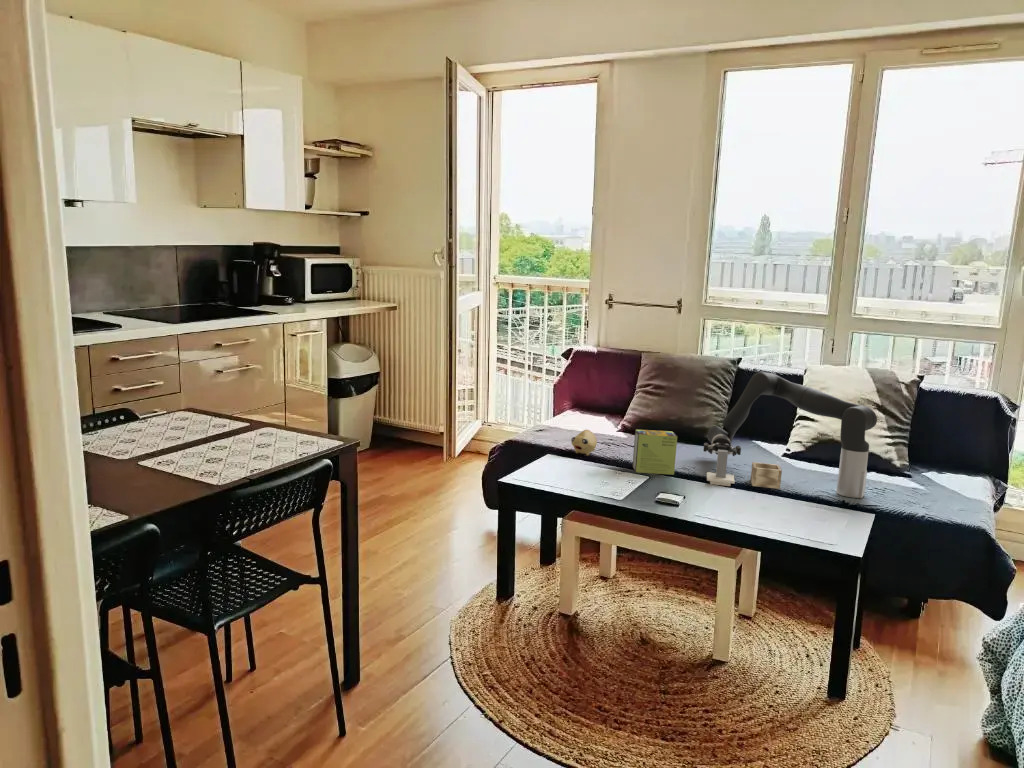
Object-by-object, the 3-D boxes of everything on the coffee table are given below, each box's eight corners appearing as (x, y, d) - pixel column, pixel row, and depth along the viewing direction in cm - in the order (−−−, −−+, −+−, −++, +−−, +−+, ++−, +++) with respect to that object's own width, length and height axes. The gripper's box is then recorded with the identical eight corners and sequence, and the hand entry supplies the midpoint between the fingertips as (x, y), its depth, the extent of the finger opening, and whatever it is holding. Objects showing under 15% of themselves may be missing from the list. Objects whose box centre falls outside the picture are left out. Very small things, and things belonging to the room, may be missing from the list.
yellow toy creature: (566, 454, 327) (567, 430, 326) (579, 450, 337) (581, 426, 336) (586, 458, 322) (588, 433, 320) (599, 454, 332) (601, 429, 330)
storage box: (777, 482, 299) (779, 464, 298) (780, 488, 289) (781, 470, 288) (750, 479, 301) (752, 462, 300) (752, 485, 291) (754, 467, 290)
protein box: (674, 475, 302) (678, 436, 300) (635, 472, 302) (638, 434, 300) (669, 468, 312) (672, 431, 310) (631, 466, 312) (634, 428, 310)
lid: (733, 481, 297) (736, 449, 295) (734, 487, 287) (737, 454, 286) (706, 478, 299) (709, 446, 298) (706, 484, 290) (709, 452, 288)
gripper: (704, 433, 315) (704, 441, 300) (740, 437, 312) (742, 444, 297) (702, 451, 316) (703, 460, 301) (738, 455, 313) (740, 463, 298)
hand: (722, 452), depth 299 cm, fingers open, 8 cm apart
